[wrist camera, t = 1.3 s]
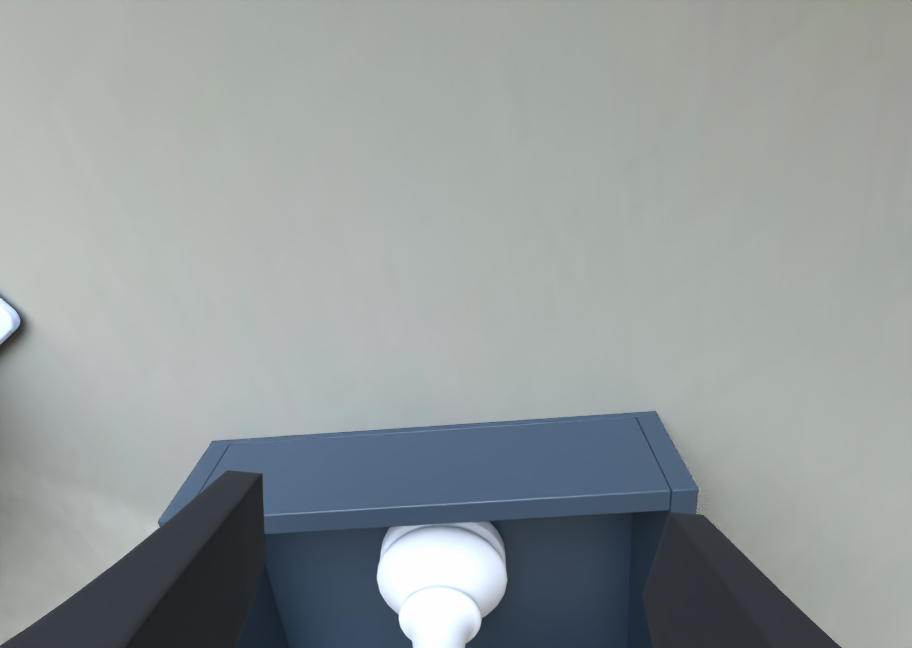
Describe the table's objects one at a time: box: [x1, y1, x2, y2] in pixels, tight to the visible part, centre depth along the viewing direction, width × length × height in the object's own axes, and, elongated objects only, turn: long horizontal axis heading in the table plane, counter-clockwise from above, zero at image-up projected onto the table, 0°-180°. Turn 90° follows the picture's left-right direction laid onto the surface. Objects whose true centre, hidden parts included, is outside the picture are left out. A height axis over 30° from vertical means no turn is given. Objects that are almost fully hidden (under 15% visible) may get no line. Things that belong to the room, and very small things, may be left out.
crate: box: [158, 411, 698, 648], centre depth 23 cm, size 17×15×4 cm
